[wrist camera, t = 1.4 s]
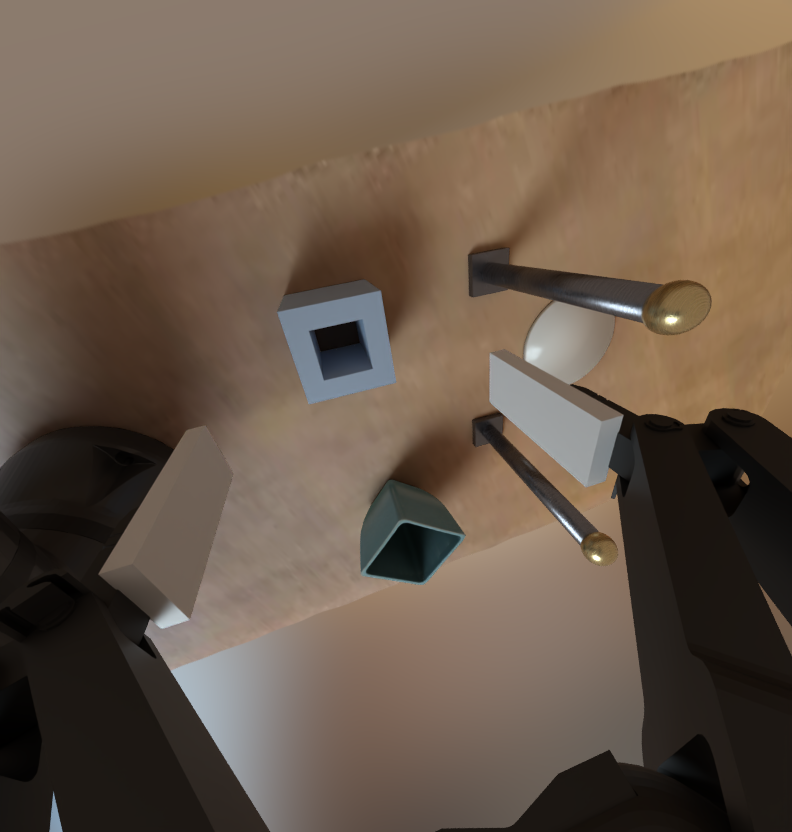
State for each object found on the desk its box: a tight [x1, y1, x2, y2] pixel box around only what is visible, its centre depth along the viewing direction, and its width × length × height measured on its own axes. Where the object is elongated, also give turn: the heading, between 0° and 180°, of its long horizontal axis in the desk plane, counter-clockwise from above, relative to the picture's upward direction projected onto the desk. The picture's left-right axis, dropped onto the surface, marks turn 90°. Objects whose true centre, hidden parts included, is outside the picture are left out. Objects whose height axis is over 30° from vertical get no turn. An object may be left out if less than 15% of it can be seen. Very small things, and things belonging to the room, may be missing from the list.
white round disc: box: [523, 300, 615, 385], centre depth 35 cm, size 11×11×1 cm
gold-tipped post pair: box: [468, 248, 712, 566], centre depth 26 cm, size 4×22×19 cm, turn 9°
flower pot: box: [360, 480, 466, 585], centre depth 37 cm, size 9×9×9 cm
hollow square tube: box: [277, 279, 396, 404], centre depth 25 cm, size 7×7×7 cm
